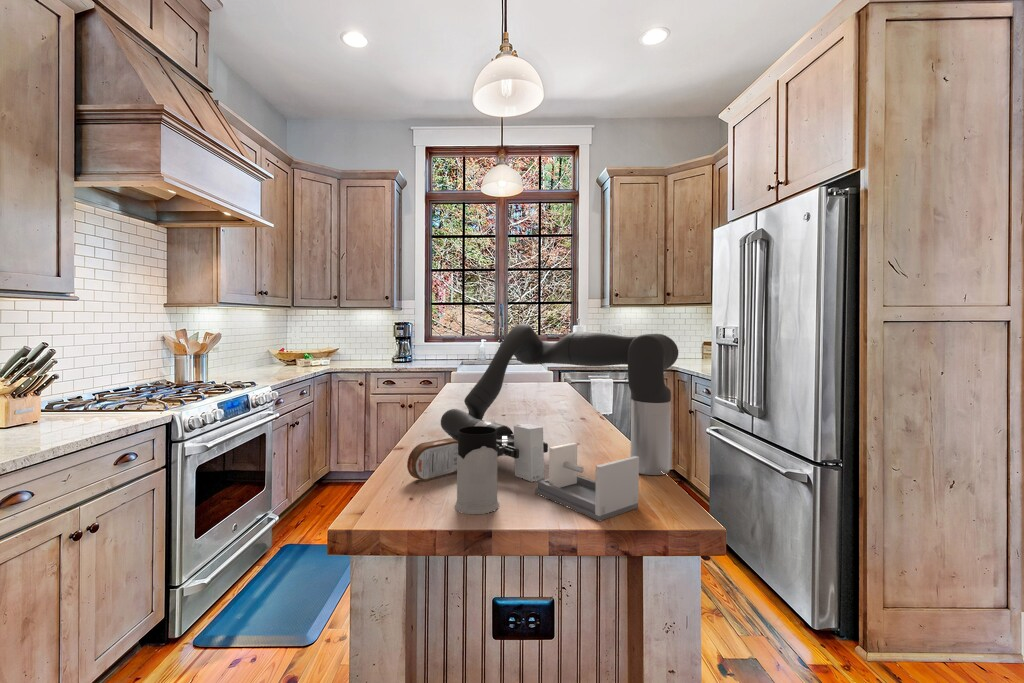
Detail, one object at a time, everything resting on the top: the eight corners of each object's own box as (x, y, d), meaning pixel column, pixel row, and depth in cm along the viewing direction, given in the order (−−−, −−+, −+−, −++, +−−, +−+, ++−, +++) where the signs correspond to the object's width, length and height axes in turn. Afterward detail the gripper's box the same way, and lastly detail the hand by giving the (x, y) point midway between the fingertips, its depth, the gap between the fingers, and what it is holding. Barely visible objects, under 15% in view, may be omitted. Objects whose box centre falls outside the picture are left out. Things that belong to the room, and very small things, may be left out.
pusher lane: (573, 483, 111) (573, 439, 111) (638, 507, 97) (638, 457, 96) (535, 493, 104) (535, 446, 104) (599, 521, 90) (599, 467, 90)
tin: (459, 468, 122) (459, 434, 121) (467, 471, 119) (467, 436, 119) (406, 482, 111) (406, 445, 111) (414, 486, 109) (414, 447, 108)
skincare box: (544, 479, 114) (545, 426, 113) (530, 483, 111) (530, 429, 111) (527, 472, 119) (527, 422, 118) (512, 476, 116) (513, 424, 115)
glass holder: (461, 517, 91) (461, 437, 91) (442, 492, 105) (442, 421, 104) (506, 511, 95) (506, 433, 94) (482, 487, 108) (482, 419, 107)
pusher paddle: (572, 481, 108) (573, 442, 108) (593, 489, 103) (593, 448, 103) (548, 488, 104) (549, 447, 104) (568, 496, 99) (569, 453, 99)
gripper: (468, 426, 122) (507, 439, 109) (514, 419, 131) (556, 430, 118) (468, 456, 122) (507, 472, 109) (514, 447, 131) (555, 462, 118)
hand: (532, 451), depth 113 cm, fingers open, 8 cm apart
